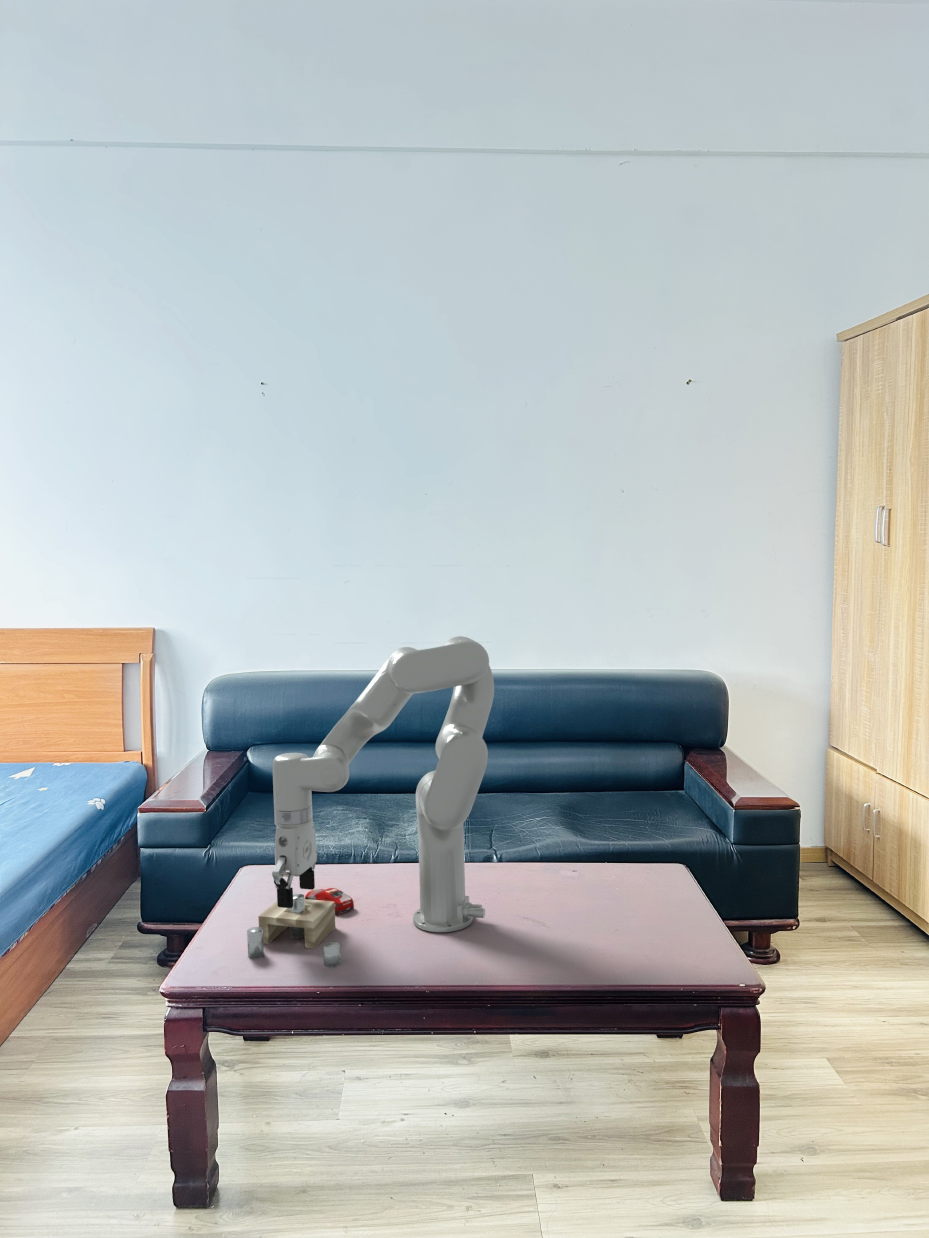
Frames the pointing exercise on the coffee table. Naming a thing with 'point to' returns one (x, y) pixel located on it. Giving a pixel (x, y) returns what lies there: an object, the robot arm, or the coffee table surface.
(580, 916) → the coffee table surface
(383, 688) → the robot arm
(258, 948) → the medium pin
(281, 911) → the bridge
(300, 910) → the long pin
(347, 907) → the race car
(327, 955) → the short pin
